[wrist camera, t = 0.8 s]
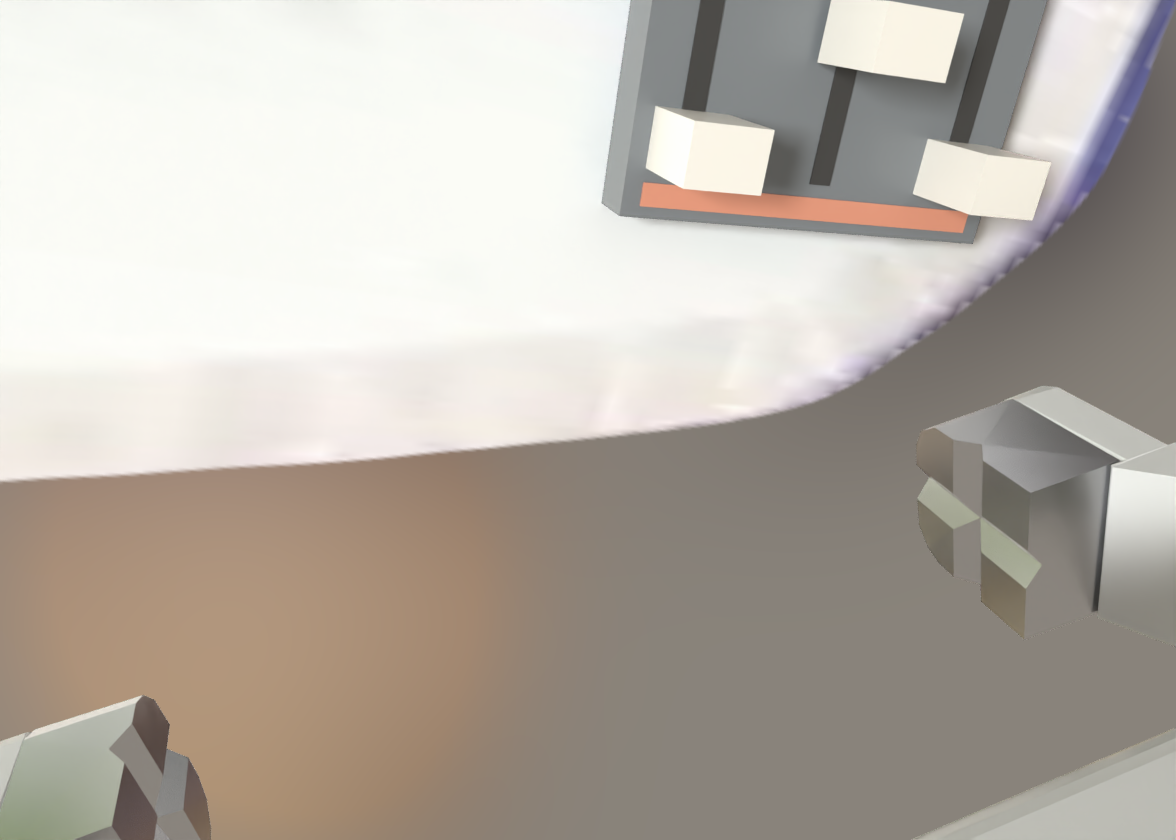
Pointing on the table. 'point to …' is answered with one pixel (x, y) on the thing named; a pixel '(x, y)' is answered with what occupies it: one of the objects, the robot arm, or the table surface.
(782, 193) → the breaker panel
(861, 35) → the handle
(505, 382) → the table surface
